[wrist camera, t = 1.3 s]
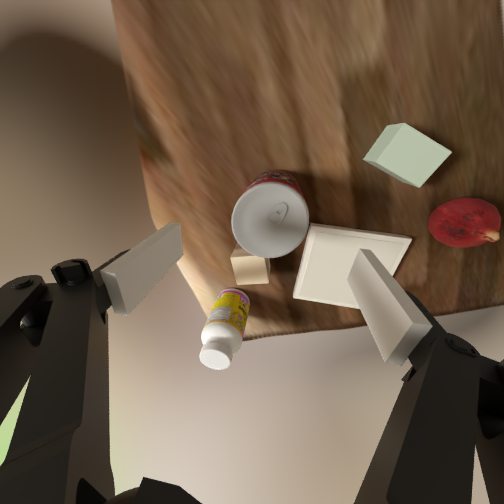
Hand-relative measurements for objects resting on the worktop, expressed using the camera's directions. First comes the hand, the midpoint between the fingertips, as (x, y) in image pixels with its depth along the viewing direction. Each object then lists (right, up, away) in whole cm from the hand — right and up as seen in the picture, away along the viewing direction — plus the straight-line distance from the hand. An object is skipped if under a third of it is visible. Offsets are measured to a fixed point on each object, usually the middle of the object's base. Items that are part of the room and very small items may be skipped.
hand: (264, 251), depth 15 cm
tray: (+14, -3, +18) cm, 23 cm away
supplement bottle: (-4, -9, +25) cm, 27 cm away
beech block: (-1, 0, +19) cm, 19 cm away
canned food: (+2, +8, +14) cm, 17 cm away
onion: (+25, +5, +12) cm, 28 cm away
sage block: (+17, +12, +10) cm, 23 cm away
